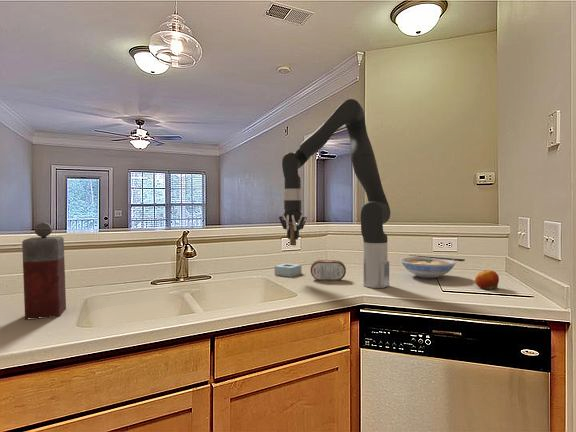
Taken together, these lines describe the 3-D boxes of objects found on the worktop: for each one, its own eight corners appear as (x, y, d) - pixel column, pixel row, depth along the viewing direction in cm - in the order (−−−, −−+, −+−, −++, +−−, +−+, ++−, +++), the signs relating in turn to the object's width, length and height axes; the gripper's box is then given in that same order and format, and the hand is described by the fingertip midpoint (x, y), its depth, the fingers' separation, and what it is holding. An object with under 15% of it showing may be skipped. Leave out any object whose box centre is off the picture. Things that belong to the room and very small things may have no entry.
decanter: (67, 306, 121) (64, 221, 120) (60, 316, 110) (56, 222, 109) (35, 309, 117) (32, 222, 116) (24, 320, 107) (21, 223, 106)
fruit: (497, 288, 132) (486, 268, 135) (478, 296, 138) (468, 276, 141) (508, 285, 136) (497, 265, 140) (490, 293, 142) (479, 273, 145)
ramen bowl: (387, 276, 163) (387, 258, 162) (414, 269, 178) (414, 253, 178) (443, 285, 144) (443, 264, 144) (468, 277, 159) (468, 258, 159)
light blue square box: (301, 273, 172) (301, 264, 172) (290, 276, 165) (290, 267, 165) (285, 271, 177) (285, 263, 177) (274, 274, 170) (274, 266, 170)
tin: (345, 279, 158) (345, 260, 158) (346, 281, 155) (346, 261, 154) (310, 279, 159) (310, 259, 159) (310, 280, 156) (310, 261, 156)
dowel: (297, 244, 161) (297, 222, 160) (293, 245, 159) (293, 222, 158) (292, 244, 162) (292, 221, 162) (288, 245, 160) (288, 222, 160)
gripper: (311, 199, 159) (311, 239, 159) (284, 199, 167) (284, 237, 167) (301, 199, 153) (302, 240, 153) (274, 199, 160) (274, 239, 161)
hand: (292, 239), depth 160 cm, fingers closed on dowel, 2 cm apart
